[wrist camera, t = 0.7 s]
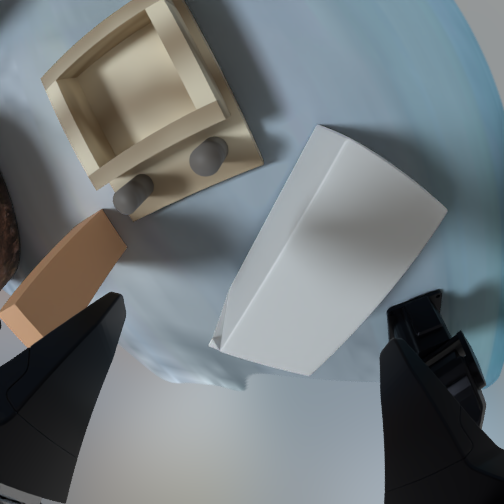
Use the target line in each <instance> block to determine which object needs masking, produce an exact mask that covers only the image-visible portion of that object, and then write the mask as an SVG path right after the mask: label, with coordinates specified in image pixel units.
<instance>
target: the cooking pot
mask: <svg viewBox="0 0 504 504" xmlns="http://www.w3.org/2000/svg"><path fill="white" fill-rule="evenodd" d="M19 254H20V243H19V233H18V228H17V223H16V218H15V214H14V210H13V207H12V203H11V200H10V197H9V194H8V191H7V188H6V185H5V182H4V180H3V178H2V175H1V173H0V291H1V289H2V288H3V287H4V286H5V285H6V284H7V282H8V281H9V280H10V279H11V277H12V276H13V275H14V273H15V271H16V270H17V267H18V263H19ZM0 329H1V321H0Z"/></svg>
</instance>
